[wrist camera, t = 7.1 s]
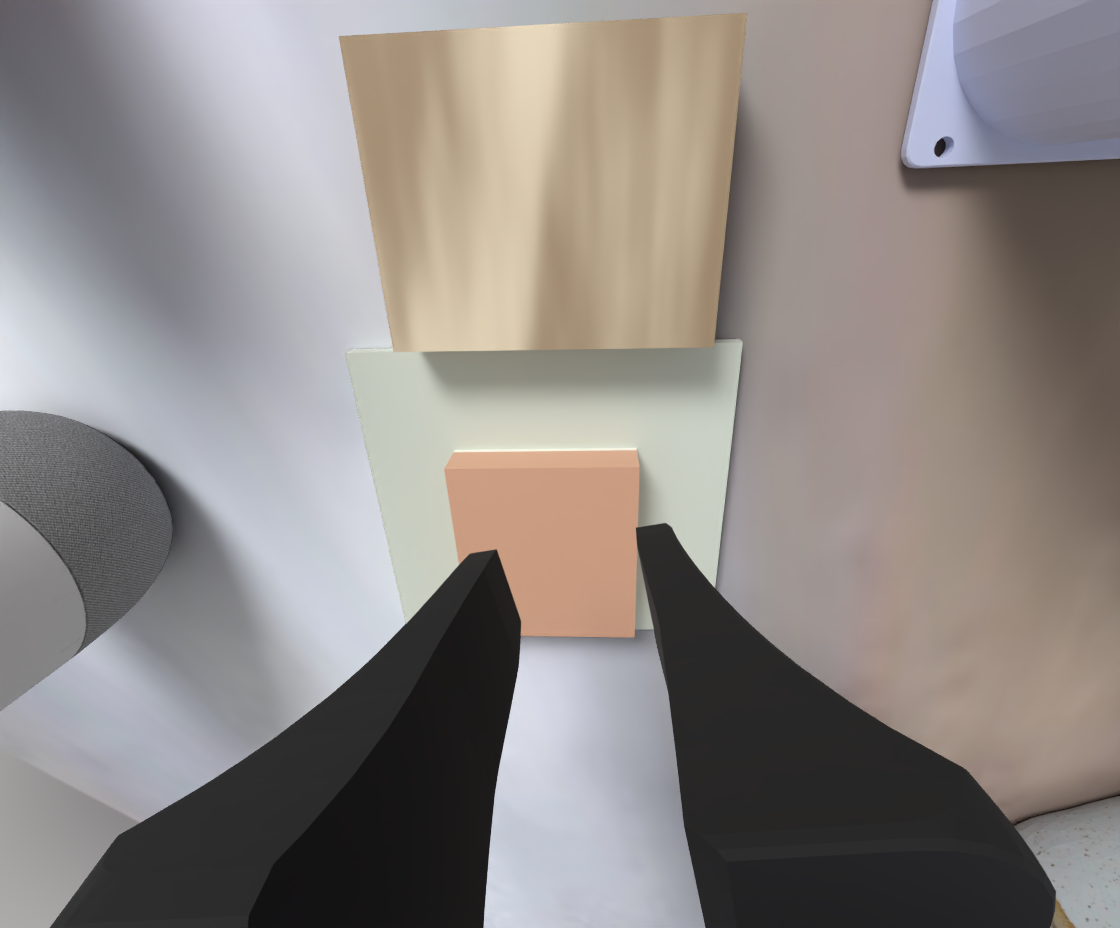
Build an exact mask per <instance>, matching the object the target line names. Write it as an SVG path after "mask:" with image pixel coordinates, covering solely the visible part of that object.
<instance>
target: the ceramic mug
mask: <svg viewBox="0 0 1120 928" xmlns="http://www.w3.org/2000/svg"><path fill="white" fill-rule="evenodd" d="M1014 827H1015V829H1016V830H1017V831H1018V832H1019V834H1020V835H1021V836H1022V838H1023V839H1024V841H1025V842H1026V843H1027V845H1028V846H1029V848H1030V849H1031V850H1032V852H1033V853H1034V855H1035V856H1036V858H1037V860H1038V861H1039V863H1040V864H1041V866H1042V868H1043V869H1044V871H1045V872H1046V874H1047V876H1048V878H1049V879H1050V881H1051V883H1052V885H1053V887H1054V888H1055V890H1056V903H1055V913H1054V916H1053V920H1052V923H1051V925H1052V926H1053V928H1120V796H1117V797H1113V798H1108V799H1104V800H1100V801H1096V802H1092V803H1089V804H1085V805H1081V806H1078V807H1074V808H1071V809H1067V810H1062V811H1058V812H1053V813H1049V814H1045V815H1041V816H1037V817H1033V818H1030V819H1028V820H1026V821H1023V822H1021V823H1019V824H1017V825H1015V826H1014Z"/></svg>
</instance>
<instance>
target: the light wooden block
mask: <svg viewBox="0 0 1120 928" xmlns="http://www.w3.org/2000/svg"><path fill="white" fill-rule="evenodd" d="M746 21H747V13H737V14H720V15H702V16H685V17H667V18H650V19H632V20H615V21H597V22H580V23H562V24H545V25H527V26H510V27H492V28H475V29H457V30H440V31H422V32H405V33H387V34H370V35H352V36H339V40H340V46H341V52H342V57H343V63H344V69H345V75H346V80H347V86H348V92H349V98H350V103H351V109H352V115H353V121H354V126H355V132H356V138H357V144H358V150H359V155H360V161H361V167H362V173H363V178H364V184H365V190H366V196H367V201H368V207H369V213H370V219H371V224H372V230H373V236H374V242H375V247H376V253H377V259H378V265H379V270H380V276H381V282H382V288H383V294H384V299H385V305H386V311H387V317H388V322H389V328H390V334H391V340H392V345H393V351H394V352H436V351H503V350H570V349H637V348H704V347H714V341H715V331H716V321H717V311H718V301H719V291H720V281H721V271H722V261H723V251H724V241H725V231H726V221H727V211H728V201H729V191H730V181H731V171H732V161H733V151H734V141H735V131H736V121H737V111H738V101H739V91H740V81H741V71H742V61H743V51H744V41H745V31H746Z"/></svg>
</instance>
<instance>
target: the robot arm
mask: <svg viewBox="0 0 1120 928" xmlns="http://www.w3.org/2000/svg"><path fill="white" fill-rule="evenodd" d="M941 138H942V139H944V141H945V142H946V148H945V150H944V152H943V154H942V155H941V156H940V157H937V156H936V155H935V153H934V147H935V145H936V143H937V141H938V140H940V139H941ZM901 159H902V161H903V164H905V165H906V166H907V167H909V168H914V169H916V168H937V167H958V166H979V165H1000V164H1021V163H1042V162H1063V161H1084V160H1105V159H1120V0H933V3H932V8H931V12H930V17H929V22H928V26H927V31H926V36H925V41H924V45H923V50H922V55H921V59H920V64H919V69H918V73H917V78H916V83H915V88H914V92H913V97H912V102H911V106H910V111H909V116H908V121H907V125H906V130H905V135H904V139H903V144H902V149H901ZM636 539H637V548H638V553H639V558H640V563H641V568H642V573H643V578H644V583H645V588H646V593H647V598H648V603H649V608H650V613H651V618H652V623H653V628H654V633H655V638H656V644H657V649H658V653H659V657H660V661H661V665H662V669H663V673H664V677H665V681H666V685H667V689H668V693H669V701H670V709H671V717H672V725H673V733H674V741H675V749H676V758H677V767H678V775H679V784H680V792H681V801H682V810H683V819H684V827H685V832H686V837H687V841H688V846H689V851H690V856H691V860H692V865H693V870H694V875H695V879H696V884H697V889H698V894H699V898H700V903H701V908H702V912H703V917H704V922H705V927H706V928H1050V926H1051V923H1052V920H1053V916H1054V913H1055V903H1056V890H1055V888H1054V887H1053V885H1052V883H1051V881H1050V879H1049V878H1048V876H1047V874H1046V872H1045V871H1044V869H1043V868H1042V866H1041V864H1040V863H1039V861H1038V860H1037V858H1036V856H1035V855H1034V853H1033V852H1032V850H1031V849H1030V848H1029V846H1028V845H1027V843H1026V842H1025V841H1024V839H1023V838H1022V836H1021V835H1020V834H1019V832H1018V831H1017V830H1016V829H1015V827H1014V826H1013V825H1012V824H1011V822H1010V821H1009V820H1008V819H1007V817H1006V816H1005V815H1004V814H1003V813H1002V811H1001V810H1000V809H999V808H998V806H997V805H996V804H995V803H994V802H993V800H992V799H991V798H990V797H989V796H988V794H987V793H986V792H985V791H984V790H983V789H982V787H981V786H980V785H979V784H978V783H977V781H976V780H975V779H974V778H973V777H972V776H971V775H970V773H969V772H968V771H967V770H966V769H964V768H963V767H961V766H959V765H957V764H955V763H954V762H952V761H950V760H948V759H946V758H944V757H943V756H941V755H939V754H937V753H935V752H934V751H932V750H930V749H928V748H926V747H925V746H923V745H921V744H919V743H917V742H915V741H914V740H912V739H910V738H908V737H906V736H905V735H903V734H901V733H899V732H897V731H896V730H894V729H892V728H890V727H888V726H887V725H885V724H884V723H882V722H880V721H879V720H877V719H876V718H874V717H873V716H871V715H869V714H868V713H866V712H865V711H863V710H862V709H860V708H858V707H857V706H855V705H854V704H852V703H851V702H849V701H848V700H846V699H845V698H843V697H842V696H841V695H839V694H838V693H836V692H835V691H834V690H832V689H831V688H829V687H828V686H827V685H825V684H824V683H822V682H821V681H820V680H818V679H817V678H815V677H814V676H813V675H811V674H810V673H808V672H807V671H806V670H804V669H803V668H801V667H800V666H799V665H797V664H796V663H795V662H794V661H792V660H791V659H790V658H789V657H787V656H786V655H785V654H784V653H783V652H781V651H780V650H779V649H778V648H776V647H775V646H774V645H773V644H772V643H770V642H769V641H768V640H767V639H766V638H765V637H764V636H762V635H761V634H760V633H759V632H758V631H757V630H756V629H755V628H754V627H752V626H751V625H750V624H749V623H748V622H747V621H746V620H745V619H744V618H743V617H742V616H741V615H740V614H739V613H738V612H737V611H736V610H735V609H734V608H733V607H732V606H731V605H730V604H729V603H728V602H727V601H726V600H725V599H724V598H723V597H722V595H721V594H720V593H719V592H718V591H717V590H716V589H715V588H714V587H713V585H712V584H711V583H710V582H709V581H708V579H707V578H706V577H705V576H704V575H703V573H702V572H701V571H700V570H699V569H698V567H697V566H696V565H695V563H694V562H693V561H692V559H691V558H690V557H689V555H688V554H687V552H686V551H685V550H684V548H683V547H682V545H681V543H680V542H679V540H678V539H677V537H676V535H675V533H674V531H673V528H672V527H671V526H670V525H668V524H667V523H662V524H656V525H649V526H643V527H636ZM520 639H521V619H520V616H519V613H518V610H517V607H516V604H515V601H514V598H513V596H512V593H511V590H510V587H509V584H508V581H507V578H506V575H505V572H504V569H503V566H502V563H501V560H500V557H499V554H498V551H497V549H495V550H489V551H482V552H476V553H470V554H469V555H468V556H467V557H466V558H465V559H464V560H463V561H462V562H461V563H460V564H459V565H458V567H457V568H456V569H455V570H454V571H453V572H452V573H451V574H450V576H449V577H448V578H447V579H446V580H445V581H444V582H443V584H442V585H441V586H440V587H439V588H438V589H437V590H436V592H435V593H434V594H433V595H432V596H431V597H430V598H429V599H428V600H427V602H426V603H425V604H424V605H423V606H422V607H421V608H420V609H419V610H418V612H417V613H416V614H415V615H414V616H413V617H412V618H411V619H410V620H409V621H408V622H407V623H406V624H405V625H404V626H403V627H402V628H401V629H400V630H399V631H398V633H397V634H396V635H395V636H394V637H393V638H392V639H391V640H390V641H389V642H388V643H387V644H386V645H385V646H384V647H383V648H382V649H381V650H380V651H379V652H378V653H377V654H376V655H375V656H374V657H373V658H372V659H371V660H370V661H369V662H367V663H366V664H365V665H364V666H363V667H362V668H361V669H360V670H359V671H358V672H357V673H355V674H354V675H353V676H352V677H351V678H350V679H348V680H347V681H346V682H345V683H344V684H343V685H342V686H340V687H339V688H338V689H337V690H336V691H335V692H333V693H332V694H331V695H330V696H329V697H327V698H326V699H325V700H324V701H322V702H321V703H320V704H319V705H317V706H316V707H315V708H313V709H312V710H311V711H309V712H308V713H307V714H305V715H304V716H303V717H302V718H300V719H299V720H298V721H296V722H295V723H294V724H292V725H291V726H290V727H289V728H287V729H286V730H285V731H283V732H282V733H281V734H279V735H278V736H277V737H275V738H274V739H272V740H271V741H270V742H268V743H267V744H265V745H264V746H262V747H261V748H260V749H258V750H257V751H255V752H254V753H252V754H251V755H249V756H248V757H247V758H245V759H244V760H242V761H241V762H239V763H238V764H236V765H234V766H233V767H231V768H230V769H228V770H227V771H225V772H224V773H222V774H221V775H219V776H218V777H216V778H215V779H213V780H211V781H210V782H208V783H207V784H205V785H203V786H202V787H200V788H199V789H197V790H195V791H194V792H192V793H190V794H189V795H187V796H185V797H184V798H182V799H180V800H178V801H177V802H175V803H173V804H172V805H170V806H168V807H167V808H165V809H163V810H161V811H160V812H158V813H156V814H155V815H153V816H151V817H150V818H148V819H146V820H144V821H143V822H141V823H139V824H138V825H136V826H134V827H133V828H131V829H129V830H127V831H125V832H123V833H122V834H120V835H119V836H118V837H117V838H116V839H115V840H114V842H113V843H112V844H111V846H110V847H109V848H108V850H107V851H106V853H105V854H104V855H103V856H102V858H101V859H100V860H99V862H98V863H97V865H96V866H95V867H94V869H93V870H92V871H91V873H90V874H89V876H88V877H87V878H86V879H85V881H84V882H83V884H82V885H81V886H80V888H79V889H78V890H77V892H76V893H75V894H74V896H73V897H72V898H71V900H70V901H69V902H68V904H67V905H66V907H65V908H64V909H63V911H62V912H61V913H60V915H59V916H58V917H57V919H56V920H55V921H54V923H53V924H52V925H51V927H50V928H483V925H484V908H485V896H486V883H487V871H488V858H489V846H490V836H491V826H492V816H493V806H494V796H495V789H496V782H497V776H498V769H499V764H500V759H501V754H502V749H503V744H504V739H505V734H506V729H507V724H508V719H509V714H510V709H511V704H512V699H513V693H514V688H515V683H516V678H517V672H518V667H519V654H520Z"/></svg>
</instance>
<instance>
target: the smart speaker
mask: <svg viewBox="0 0 1120 928" xmlns="http://www.w3.org/2000/svg"><path fill="white" fill-rule="evenodd" d="M172 534H173V527H172V518H171V514H170V510H169V507H168V504H167V501H166V499H165V497H164V495H163V493H162V491H161V489H160V487H159V485H158V484H157V482H156V481H155V479H154V478H153V476H152V475H151V474H150V472H149V471H148V470H147V469H146V468H145V467H144V465H143V464H142V463H141V462H140V461H139V460H138V459H137V458H136V457H135V456H134V455H132V454H131V453H130V452H129V451H128V450H126V449H125V448H124V447H123V446H121V445H120V444H119V443H117V442H116V441H114V440H113V439H111V438H110V437H108V436H106V435H105V434H103V433H101V432H99V431H98V430H96V429H94V428H92V427H90V426H87V425H85V424H83V423H80V422H77V421H75V420H72V419H68V418H65V417H62V416H57V415H52V414H46V413H40V412H30V411H0V711H1V710H3V709H4V708H5V707H7V706H8V705H9V704H11V703H12V702H13V701H15V700H16V699H18V698H19V697H20V696H22V695H23V694H24V693H26V692H27V691H28V690H30V689H31V688H32V687H34V686H35V685H36V684H38V683H39V682H40V681H42V680H43V679H45V678H46V677H47V676H49V675H50V674H51V673H53V672H54V671H55V670H57V669H58V668H59V667H61V666H62V665H64V664H65V663H66V662H68V661H69V660H70V659H72V658H73V657H74V656H75V655H77V654H78V653H79V652H80V651H82V650H83V649H84V648H85V647H87V646H88V645H89V644H90V643H92V642H93V641H94V640H95V639H96V638H98V637H99V636H100V635H101V634H103V633H104V632H105V631H106V630H107V629H109V628H110V627H111V626H112V625H113V624H115V623H116V622H117V621H118V620H119V619H120V618H121V617H122V616H124V615H125V614H126V613H127V612H128V611H129V610H130V609H131V608H132V607H133V606H134V605H135V604H136V603H137V602H138V601H139V599H140V598H141V597H142V596H143V595H144V594H145V593H146V591H147V590H148V589H149V587H150V586H151V585H152V583H153V582H154V580H155V579H156V577H157V576H158V574H159V573H160V571H161V569H162V567H163V565H164V563H165V561H166V559H167V556H168V553H169V550H170V546H171V541H172Z"/></svg>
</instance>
